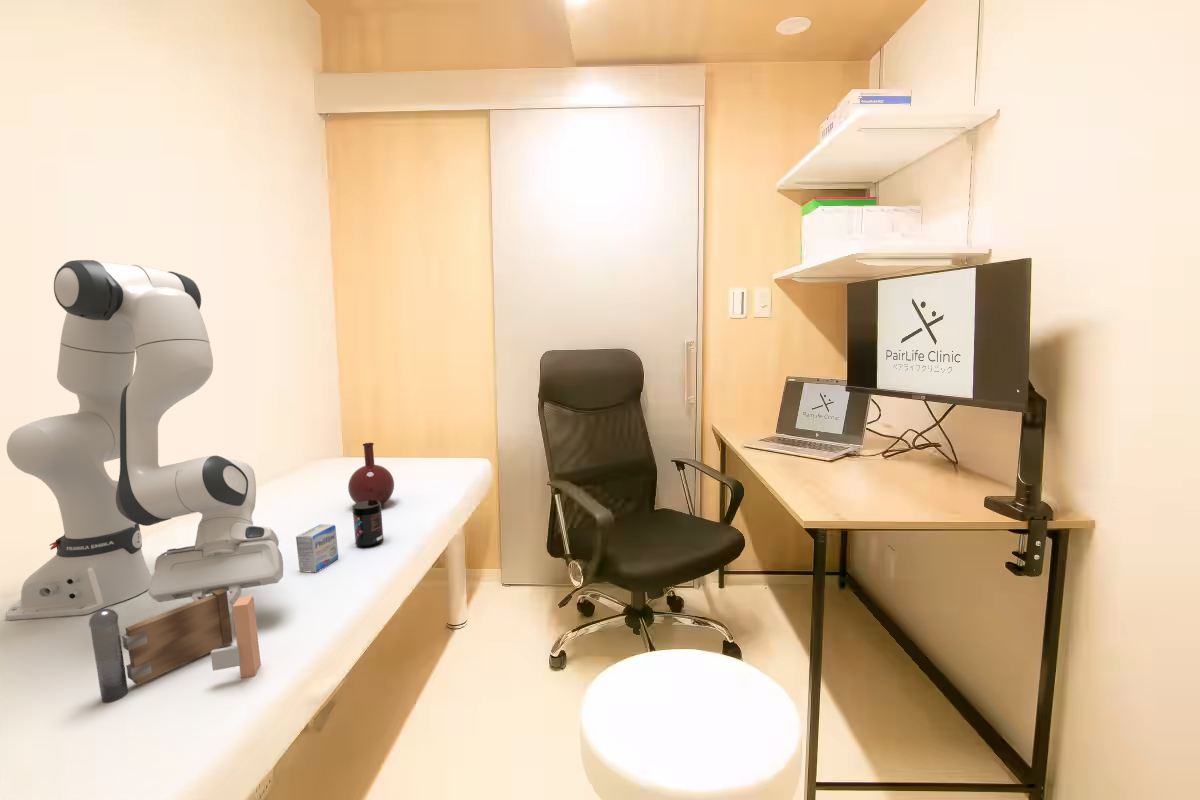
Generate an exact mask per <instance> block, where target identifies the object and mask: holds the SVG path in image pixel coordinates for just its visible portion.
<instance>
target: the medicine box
mask: <svg viewBox="0 0 1200 800" xmlns="http://www.w3.org/2000/svg"><path fill="white" fill-rule="evenodd" d="M336 527H337V526H336V525H335V524H330V523H327V524H326V523H324V524H323V523H322V524H321V523H320V524H318V525H316V526H314V527H312V528H310V529H308V530H307V531H304V532H302V533H301V534H299V535H296V536H295V540H296V541H295V542H296V553H297V558H298V567H299V568H298V569H299V571H300V570H302V571H311V572H310V573H314V572H317V571H318V572H320V571H321V570H323V569H324V568H326V567H327V565H328V564H329V565H330V563H331V564H332V563H333V561H334V562H335V561H337V560H338V559H339V550H338V540H337V529H336ZM329 565H328V566H329ZM325 566H326V567H325ZM322 568H323V569H322ZM320 569H321V570H320ZM319 570H320V571H319ZM318 572H317V573H318Z"/></svg>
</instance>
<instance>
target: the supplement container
mask: <svg viewBox="0 0 1200 800" xmlns="http://www.w3.org/2000/svg"><path fill="white" fill-rule="evenodd" d="M351 507H352V518H353V519H352V520H353V529H354V541H355V546H356V547H358V548H360V549H367V548H368V549H370V548H375V547H377V546H379V545H381V544H382V543H383V541H384V529H383V527H384V526H383V517H382V516H383V515H382V505H381V502H380V501H375V500H370V501H363V502H359V503H354V504H353V505H352V506H351Z"/></svg>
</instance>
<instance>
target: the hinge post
mask: <svg viewBox="0 0 1200 800" xmlns="http://www.w3.org/2000/svg"><path fill="white" fill-rule="evenodd" d="M88 626H89V628H90V633H91V640H92V646H93V653H94V659H95V665H96V670H97V671H96V673H97V677H98V685H99V690H100V697H101V702H102V703H105V704H106V703H113V702H116V701H118V700H121V699H122V698H124V697H126V695H127V694H129V688H128V681H127V672H126V668H125V662H124V661H125V660H124V655H123V654H124V652H123V647H122V646H123V645H122V640H121V639H122V638H121V634H120V626H119V615H118V613H117V611H116V610H114V609H112V608H101V609H99V610H97V611H95V612H93V614H91V616H90V618H89V621H88Z"/></svg>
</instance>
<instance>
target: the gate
mask: <svg viewBox="0 0 1200 800" xmlns="http://www.w3.org/2000/svg"><path fill="white" fill-rule="evenodd" d="M227 592H228V591H225V590H223V589H219V590H216V591H213V592H212V594H211V595H210V594H209V595H208V596H206V597H205V598H202V599H200V600H197V601H194V600H193V601H192V602H190V603H187V604H185V605H182V606H179V607H176V608H174V609H171V610H168V611H166V612H163V613H160V614H159V615H158V614H157V615H155V616H152V617H151V618H150V617H149V618H148V619H145V620H142V621H139V622H136V623H134V624H131V625H129V626H126V627H125V629H124V630H125V633H124V634H121V637H122V638H121V639H122V640H121V641H122V646H123V647H122V648H123V649H125V650H127V651H128V655H129V662H130V663H128V664H126V675H127V678H128V679H129V680H130V681H132V682H133V683H135V685H137V686H139V685H140V684H143V683H146V682H147V681H150V680H152V679H154V678H156V677H159V676H160V675H162V674H164V673H167V672H169V671H172V670H173V669H175V668H178V667H180V666H182V665H184V664H186V663H189V662H191V661H194V660H195V659H197V658H200V657H202V656H204V655H207V654H208V653H211V651H212V650H214V649H220V648H223V647H225V646H227V645H230V644H233V634H232V625H231V616H230V615H231V614H229V607H228V593H227Z"/></svg>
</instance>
